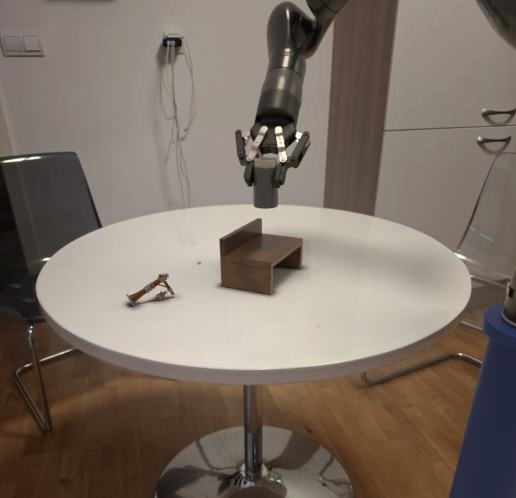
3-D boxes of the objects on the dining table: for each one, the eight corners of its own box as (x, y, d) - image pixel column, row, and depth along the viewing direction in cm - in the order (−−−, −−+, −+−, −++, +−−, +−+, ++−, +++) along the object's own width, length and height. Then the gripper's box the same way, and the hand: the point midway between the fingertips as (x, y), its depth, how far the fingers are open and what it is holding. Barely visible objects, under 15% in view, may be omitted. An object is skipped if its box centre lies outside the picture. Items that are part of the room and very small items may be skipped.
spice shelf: (302, 267, 100) (303, 223, 96) (270, 294, 88) (270, 245, 83) (257, 260, 104) (257, 218, 100) (221, 286, 91) (219, 238, 87)
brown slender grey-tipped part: (180, 292, 86) (167, 271, 83) (141, 317, 85) (127, 297, 82) (176, 289, 88) (164, 268, 85) (138, 313, 86) (125, 293, 84)
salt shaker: (281, 204, 89) (282, 157, 85) (272, 209, 86) (272, 161, 82) (259, 202, 91) (259, 156, 87) (249, 207, 87) (248, 159, 83)
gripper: (237, 86, 87) (217, 169, 83) (317, 87, 84) (301, 173, 79) (246, 117, 94) (228, 195, 90) (320, 118, 91) (305, 199, 86)
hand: (263, 184), depth 85 cm, fingers closed on salt shaker, 4 cm apart
